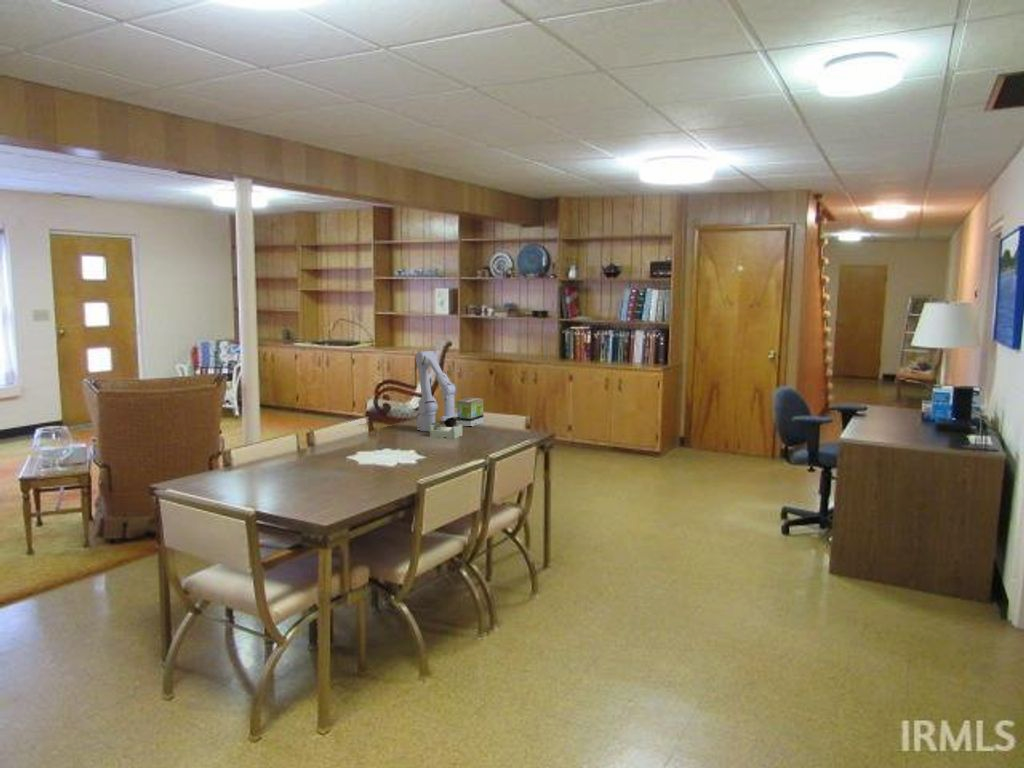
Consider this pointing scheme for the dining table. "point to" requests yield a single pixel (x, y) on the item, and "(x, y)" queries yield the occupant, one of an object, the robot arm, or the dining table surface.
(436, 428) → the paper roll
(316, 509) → the dining table surface
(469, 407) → the tea box
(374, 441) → the dining table surface
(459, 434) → the roll cradle
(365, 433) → the dining table surface
